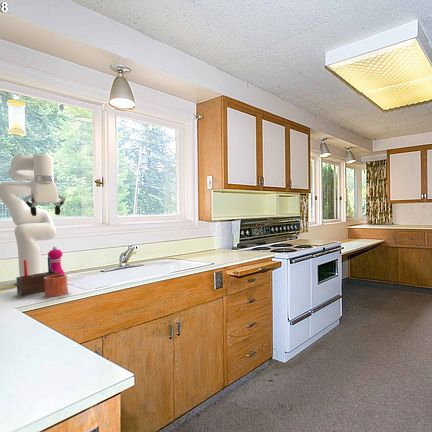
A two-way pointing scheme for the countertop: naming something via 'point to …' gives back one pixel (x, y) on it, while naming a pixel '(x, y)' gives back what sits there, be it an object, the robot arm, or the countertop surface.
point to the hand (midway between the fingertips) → (46, 215)
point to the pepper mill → (56, 260)
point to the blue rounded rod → (49, 265)
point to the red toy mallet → (25, 269)
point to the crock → (55, 285)
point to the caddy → (32, 283)
